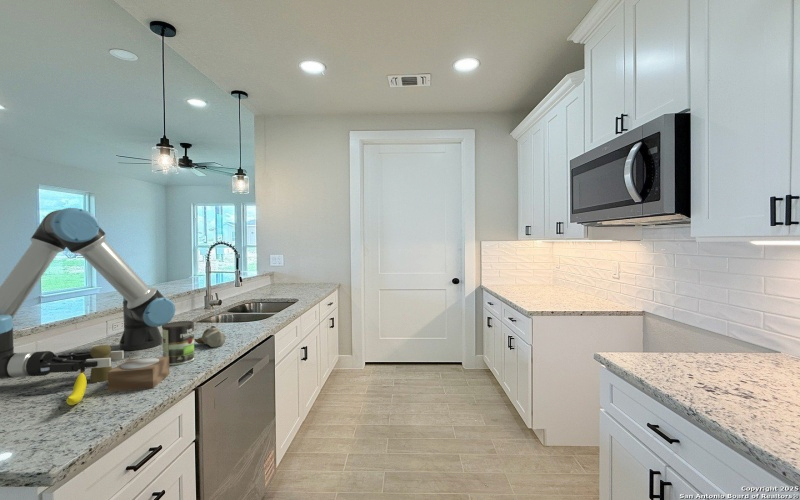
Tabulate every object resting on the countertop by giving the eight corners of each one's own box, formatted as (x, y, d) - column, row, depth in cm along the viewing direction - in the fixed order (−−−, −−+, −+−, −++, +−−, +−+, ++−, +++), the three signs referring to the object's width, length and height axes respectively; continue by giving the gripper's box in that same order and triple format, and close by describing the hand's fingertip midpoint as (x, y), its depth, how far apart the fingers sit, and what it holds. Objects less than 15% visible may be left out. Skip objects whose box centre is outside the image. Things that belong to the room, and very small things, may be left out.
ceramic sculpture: (205, 329, 147) (192, 326, 157) (206, 351, 147) (193, 346, 157) (231, 325, 155) (217, 322, 165) (232, 345, 154) (218, 341, 164)
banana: (61, 418, 92) (60, 394, 91) (76, 392, 107) (75, 371, 107) (76, 415, 93) (75, 391, 93) (89, 390, 109) (88, 369, 109)
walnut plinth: (129, 377, 119) (128, 358, 119) (169, 373, 122) (169, 355, 122) (108, 391, 108) (107, 371, 107) (153, 388, 110) (152, 367, 110)
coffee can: (201, 357, 139) (200, 321, 139) (180, 366, 129) (179, 327, 129) (178, 355, 141) (177, 320, 141) (155, 364, 131) (154, 326, 131)
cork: (86, 384, 114) (85, 349, 113) (92, 377, 119) (91, 344, 119) (110, 380, 116) (109, 347, 116) (115, 374, 122) (114, 342, 121)
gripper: (56, 365, 123) (132, 359, 128) (7, 388, 104) (98, 381, 109) (56, 343, 123) (132, 339, 128) (6, 362, 104) (98, 356, 109)
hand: (116, 358), depth 118 cm, fingers open, 7 cm apart
